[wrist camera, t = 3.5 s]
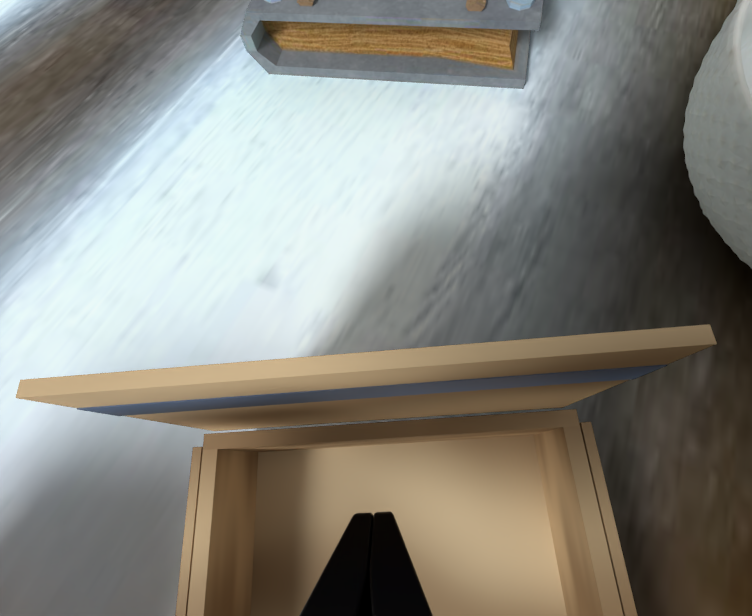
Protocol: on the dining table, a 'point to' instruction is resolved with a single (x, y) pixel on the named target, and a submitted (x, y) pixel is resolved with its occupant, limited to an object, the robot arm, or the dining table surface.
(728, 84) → the cereal bowl
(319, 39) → the book
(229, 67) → the dining table surface
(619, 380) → the flap
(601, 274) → the dining table surface
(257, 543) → the open wooden box
